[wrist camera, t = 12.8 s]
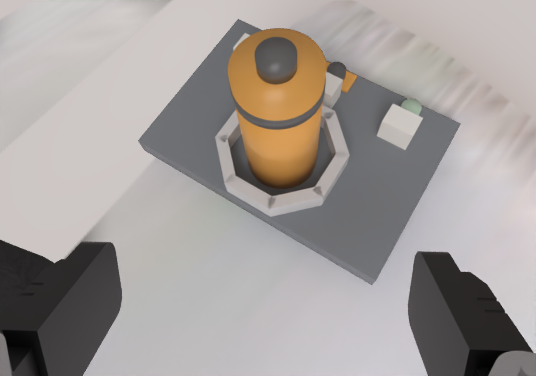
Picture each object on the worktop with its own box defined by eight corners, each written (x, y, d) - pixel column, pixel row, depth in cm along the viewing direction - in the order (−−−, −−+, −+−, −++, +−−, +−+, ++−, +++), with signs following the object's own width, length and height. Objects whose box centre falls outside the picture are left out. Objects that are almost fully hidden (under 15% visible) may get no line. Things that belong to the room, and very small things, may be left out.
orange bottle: (233, 169, 31) (203, 70, 20) (270, 115, 32) (258, -1, 22) (294, 202, 30) (295, 115, 19) (330, 145, 31) (347, 37, 21)
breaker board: (144, 150, 33) (128, 126, 30) (240, 32, 37) (235, -1, 34) (371, 284, 29) (382, 274, 25) (453, 134, 33) (471, 108, 29)
